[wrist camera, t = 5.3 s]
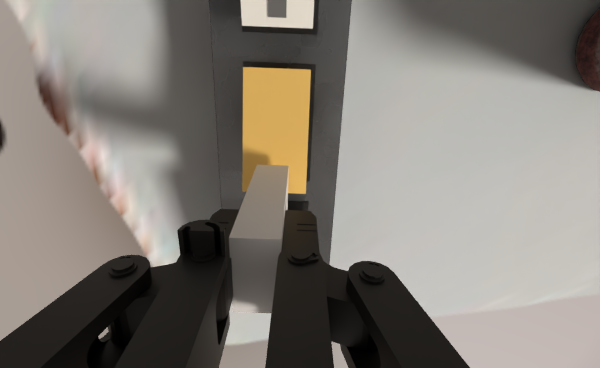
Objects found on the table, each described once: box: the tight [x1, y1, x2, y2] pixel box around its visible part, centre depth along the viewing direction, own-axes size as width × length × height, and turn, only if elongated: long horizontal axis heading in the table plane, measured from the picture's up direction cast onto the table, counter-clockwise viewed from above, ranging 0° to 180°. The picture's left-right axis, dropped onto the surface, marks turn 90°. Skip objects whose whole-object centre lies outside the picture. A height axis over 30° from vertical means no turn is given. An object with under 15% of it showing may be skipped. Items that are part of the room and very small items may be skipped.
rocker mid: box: [242, 67, 311, 194], centre depth 17 cm, size 6×3×2 cm, turn 178°
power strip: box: [209, 0, 352, 265], centre depth 19 cm, size 31×7×4 cm, turn 178°
